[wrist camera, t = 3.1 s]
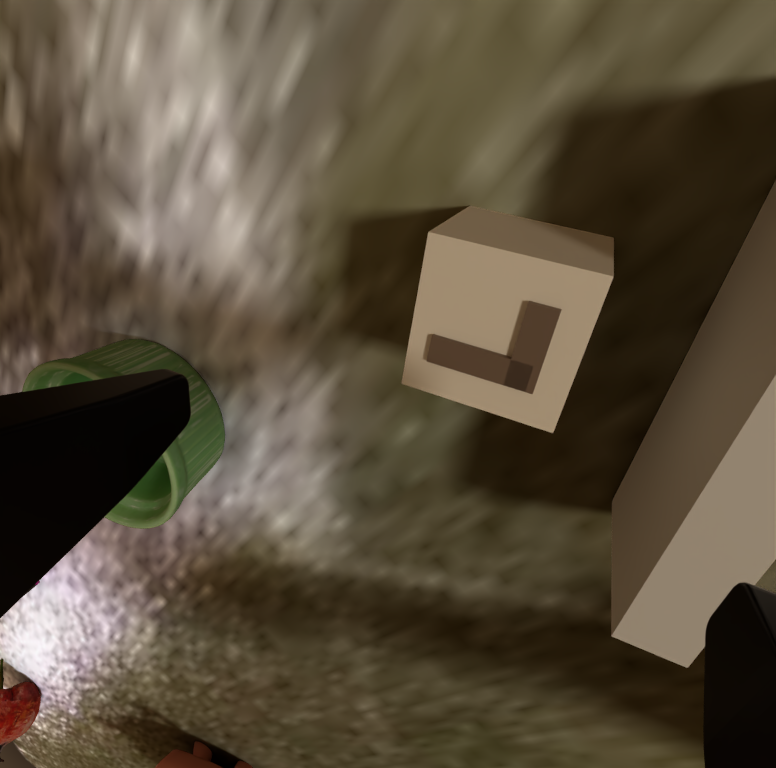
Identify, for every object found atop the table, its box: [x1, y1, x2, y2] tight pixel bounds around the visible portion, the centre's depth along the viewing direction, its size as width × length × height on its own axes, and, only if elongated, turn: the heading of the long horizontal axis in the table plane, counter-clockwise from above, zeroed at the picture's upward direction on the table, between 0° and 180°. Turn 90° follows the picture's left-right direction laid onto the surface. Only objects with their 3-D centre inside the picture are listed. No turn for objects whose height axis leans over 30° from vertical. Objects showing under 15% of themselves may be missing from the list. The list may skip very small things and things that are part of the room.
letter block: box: [401, 206, 614, 433], centre depth 15 cm, size 4×4×5 cm
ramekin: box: [22, 339, 225, 529], centre depth 25 cm, size 9×9×4 cm
